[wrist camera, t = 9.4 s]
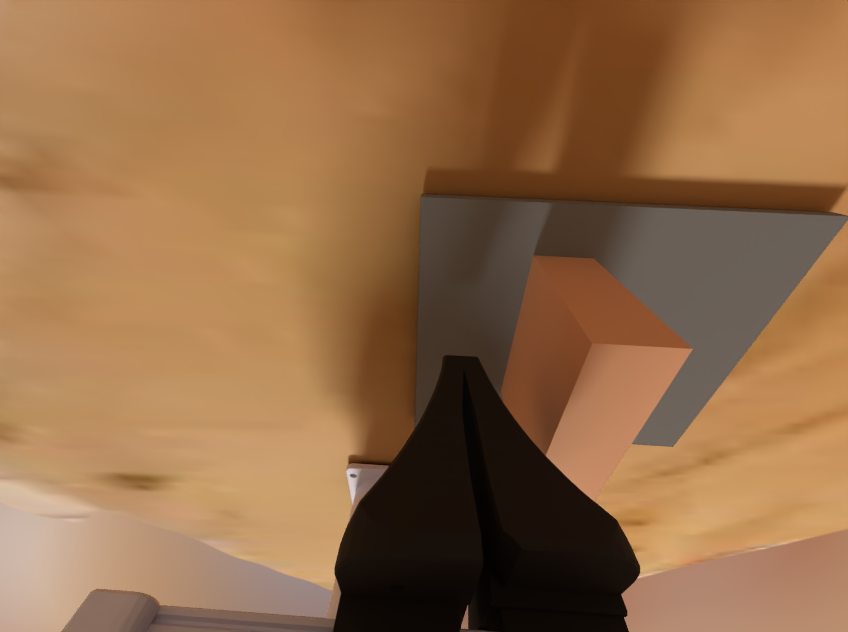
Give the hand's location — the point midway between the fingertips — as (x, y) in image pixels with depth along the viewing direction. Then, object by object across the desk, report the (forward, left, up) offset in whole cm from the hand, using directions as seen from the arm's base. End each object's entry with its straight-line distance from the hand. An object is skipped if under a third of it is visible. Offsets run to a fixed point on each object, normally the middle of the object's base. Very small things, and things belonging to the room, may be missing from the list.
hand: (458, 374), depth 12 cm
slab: (0, -4, -3) cm, 5 cm away
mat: (-1, -6, -4) cm, 7 cm away
